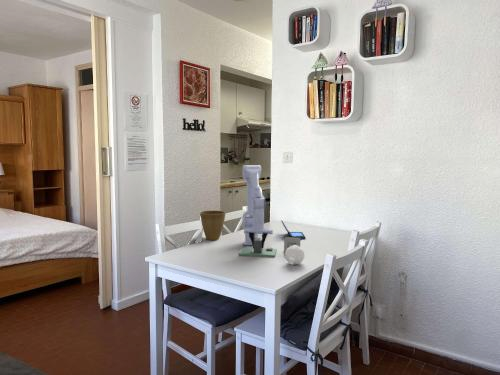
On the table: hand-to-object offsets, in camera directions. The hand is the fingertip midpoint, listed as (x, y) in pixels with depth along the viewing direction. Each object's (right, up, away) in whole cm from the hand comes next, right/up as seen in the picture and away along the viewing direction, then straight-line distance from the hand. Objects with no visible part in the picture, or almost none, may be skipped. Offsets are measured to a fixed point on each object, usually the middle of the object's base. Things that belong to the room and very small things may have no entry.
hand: (258, 247), depth 196 cm
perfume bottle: (+16, -5, -19) cm, 25 cm away
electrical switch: (+17, -3, +1) cm, 18 cm away
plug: (0, -2, 0) cm, 2 cm away
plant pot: (-26, 0, +31) cm, 40 cm away
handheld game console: (+22, 0, +38) cm, 44 cm away
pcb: (0, -3, 0) cm, 3 cm away
